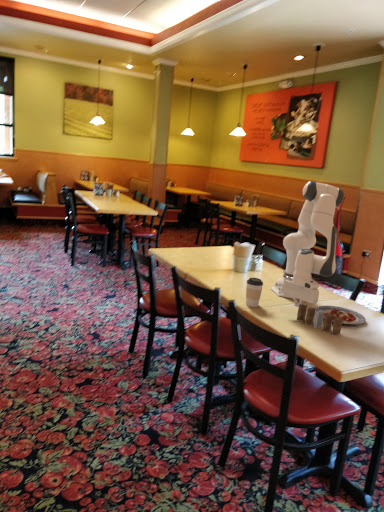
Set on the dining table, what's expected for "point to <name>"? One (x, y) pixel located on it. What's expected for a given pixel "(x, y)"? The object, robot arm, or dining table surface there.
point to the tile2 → (310, 315)
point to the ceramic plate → (343, 314)
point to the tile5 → (337, 326)
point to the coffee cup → (253, 291)
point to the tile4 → (327, 322)
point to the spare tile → (318, 319)
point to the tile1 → (302, 312)
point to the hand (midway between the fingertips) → (297, 306)
